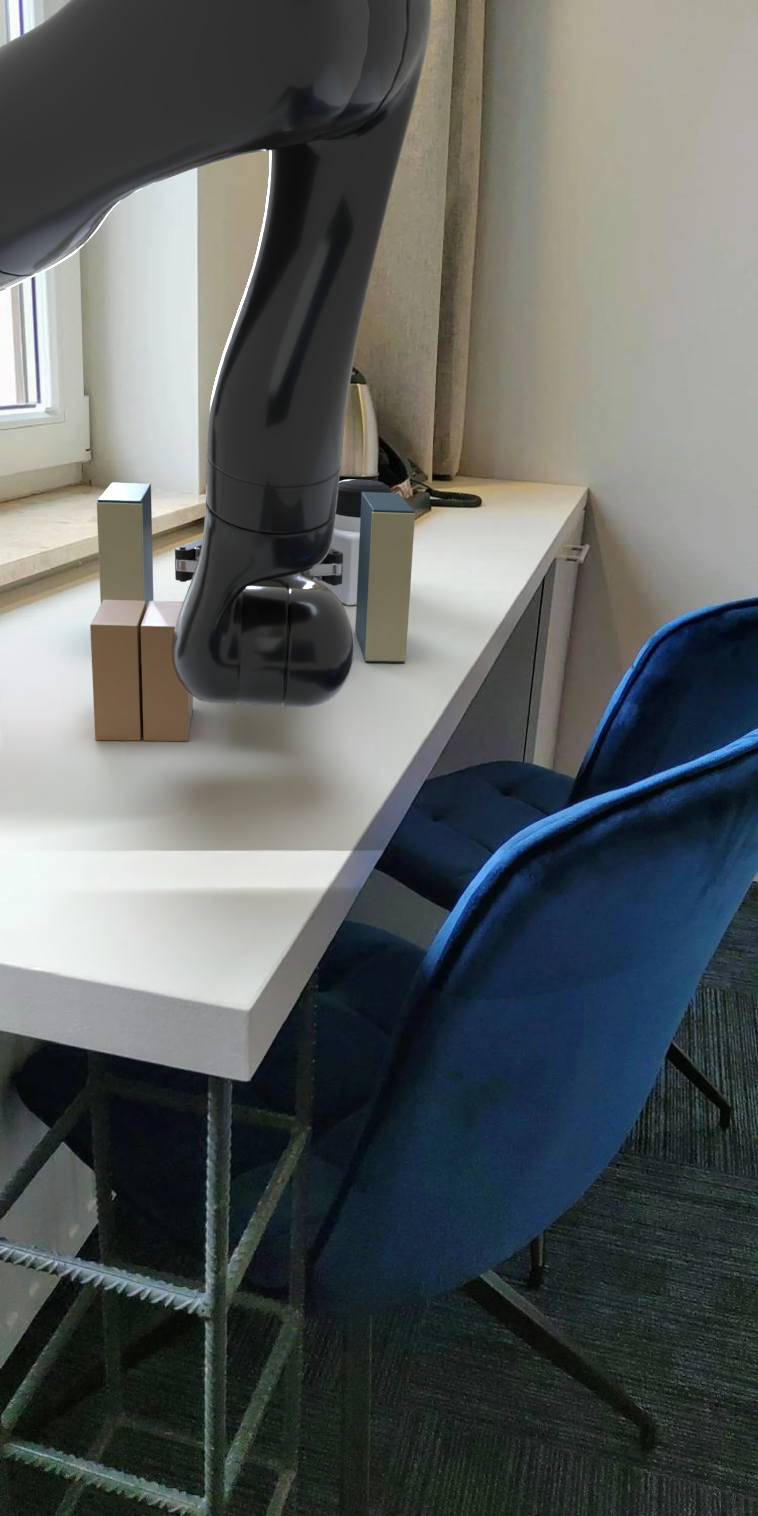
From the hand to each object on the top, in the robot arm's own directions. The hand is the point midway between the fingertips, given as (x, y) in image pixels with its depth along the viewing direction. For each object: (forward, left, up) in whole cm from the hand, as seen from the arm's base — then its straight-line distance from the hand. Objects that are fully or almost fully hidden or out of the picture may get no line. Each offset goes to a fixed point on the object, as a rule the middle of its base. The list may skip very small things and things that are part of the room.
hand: (258, 545), depth 97 cm
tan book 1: (-17, -18, -9) cm, 26 cm away
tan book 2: (-14, -19, -9) cm, 25 cm away
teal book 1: (-11, +3, -9) cm, 14 cm away
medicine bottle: (+17, +14, -9) cm, 23 cm away
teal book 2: (+10, -5, -9) cm, 14 cm away
